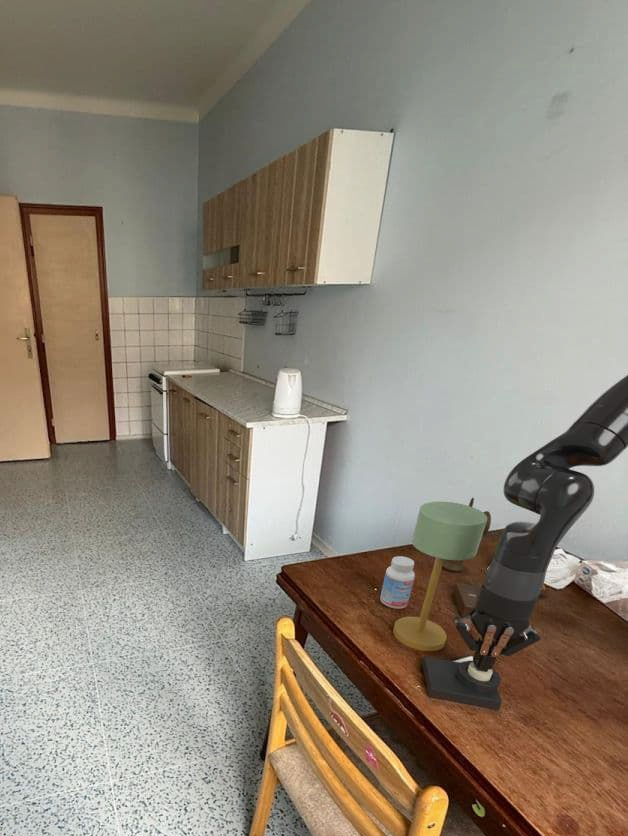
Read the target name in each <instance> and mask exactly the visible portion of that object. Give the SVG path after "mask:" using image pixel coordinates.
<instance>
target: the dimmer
mask: <svg viewBox="0 0 628 836" xmlns="http://www.w3.org/2000/svg"><path fill="white" fill-rule="evenodd" d="M481 587H482V585H476V584H475V585H474V584H467V583H458V582H456V583H455V586H454V589H453V592H452V594H453V598H454V600H455V602H456V605H457V608H458V611H459V613H460V617H461V618H464V617H466V616H469V614H470V612H471V611H472V610H473V609H474V608H475V606H476V603H477V599H478V596H479V593H480V590H481Z"/></svg>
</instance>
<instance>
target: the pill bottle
mask: <svg viewBox="0 0 628 836" xmlns="http://www.w3.org/2000/svg"><path fill="white" fill-rule="evenodd" d="M414 566H415V561H414V560H413V559H412V558H409V557H406V556H401V555H398V556H394V557H392V559H391V562H390V566H388V567H387V568H386V571H385V574H384V579H383V583H382V586H381V592H380V597H379V600H380V603H382V604H383V606H386V607H388V608H391V609H393V610H394V609H396V610H401V609H402V610H403V609H405V608H406V607H407V606H408V605H409V600H410V597H411V593H412V589H413V586H414V581H415V577H416V574H415V571H414V570H413V569H414V568H415V567H414Z"/></svg>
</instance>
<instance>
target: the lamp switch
mask: <svg viewBox="0 0 628 836" xmlns="http://www.w3.org/2000/svg"><path fill="white" fill-rule="evenodd" d="M467 673H468V674H469V675H470V676H471V677H473V678H475V679H477V680H480V681H485V682H486V681H490V678H491V676H492V673H493V671H492V669H491V670H489V669H488V671H487V672H483V671H478V670H477V668H476V667H475V666H474V663H473V662H472V663H470V665H469V667H468V670H467Z"/></svg>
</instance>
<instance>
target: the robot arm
mask: <svg viewBox="0 0 628 836" xmlns="http://www.w3.org/2000/svg"><path fill="white" fill-rule="evenodd" d="M627 448H628V374H627V375H625V376H624V377H623V378H621V379H620V380H618V381H617V382H615V383H614V384H613V385H612V386H610V387H609V388H607V389H606V390H605V391H604V392H603V393H601V394H600V395H599V396H598V397H597V398H596V399H595V400H594V401H593V402H592V403H590V404H589V406H588V407H587V408H586V409H585V410H584V411H583V412H582V413H581V414H580V416H579V417H578V418H577V419H575V420H574V422H573V423H572V424H571V425H570V426H569V427H568V428H567V429H566V430H565V431H564V432H562V433H561V434H560V435H558V436H556V437H554V438H553V439H552V440H550V441H549V442H547V443H546V444H544V445H543V446H541V447H539V448H538V449H537V450H535V451H534V452H532V453H530V454H529V455H527V456H526V457H525V458H523V459H522V460H521V461H519V462H518V463H517V464H516V465H514V467H513V468H512V469H511V470H510V472H509V473H508V475H507V476H506V478H505V480H504V483H503V490H502V491H503V495H504V498H505V499H506V500H507V501H508V502H509V503H510V504H513V505H515V506H517V507H519V508H523V509H525V510H528V511H530V512H533V513H535V514H537V515H539V519H538V520H537V522H531V521H521V520H520V521H513V522H510V523H508V524H507V525H506V526H505V527H504V528H503V530H502V532H501V534H500V537H499V540H498V543H497V545H496V549H495V552H494V555H493V557H492V560H491V562H490V563H489V565H488V567H487V569H486V573H485V575H486V576H484V578H483V582H482V585H481V586H482V587H481V590H480V593H479V596H478V599H477V603H476V606H475V608H474V609H473V610H472V611H471V612H470V614H469V616H466V617H461V616H454V617H453V623H454V626H455V629H456V631H457V632H458V633H459V635H460V637H461V638H462V640H463V641H464V642H465V644H466V646H467V647H468V649H469V650H470V651H473V652H474V651H475V652H474V653H473V654H474V655H473V658H472V661H473V663H474V666H475V667H476V668H477V670H478V671H483V672H487V671H488V669H489V670H491V669H492V668H493V669H494V666H495V663H496V660H497V658H498V657H499V656H502V655H504V656H506V657H510V656H513V655H514V654H517V653H518V652H520V651H522V650H524V649H526V648H529V647H530V646H532V645H534V644H536V643H537V642H539V641H540V640H541V637H540V634H539V633H538V632H537V630H536V628H535V627H533V626H530V621H529V619H530V618H531V615H532V613H533V611H534V608H535V605H536V603H537V601H538V598H539V593H540V592H541V591H542V586H543V584H544V583H545V580H546V575H547V571H548V568H549V566H550V563H551V560H552V558H553V556H554V553H555V550H556V548H557V547H558V545H559V544H560V542H561V541H562V540H563V538H565V536H566V534H567V533H568V532H569V531H570V530H571V528H572V527H573V526H574V524H576V522H577V521H578V520H579V519H580V518H581V517H582V516H583V514H584V513H585V512H586V511H587V510H588V508H589V507H590V505H591V504H592V502H593V500H594V496H595V485H594V482H593V480H592V478H591V477H590V476H588V475H587V474H586V473H583V472H580V471H578V470H574V469H572V468H575V467H603V466H607V465H609V464H610V463H612V462H613V461H615V460H616V459H617V458H618V457H619V456H620V455H621V454H622V453H624V451H625V450H626V449H627ZM471 624H473V626H474V628H475V630H476V631H477V635H478V637H477V639H475V637H474V636H473V634H472V633H471V631H470V630H471V628H472V626H471Z"/></svg>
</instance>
